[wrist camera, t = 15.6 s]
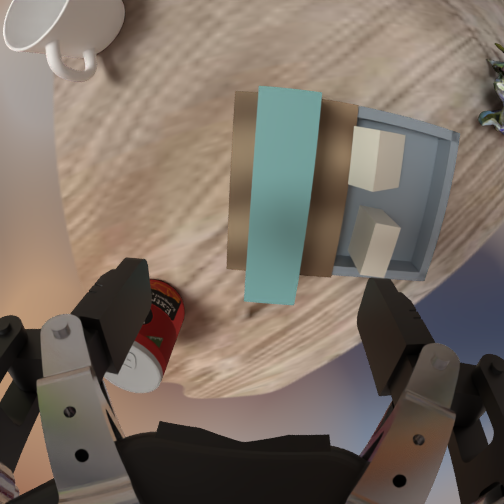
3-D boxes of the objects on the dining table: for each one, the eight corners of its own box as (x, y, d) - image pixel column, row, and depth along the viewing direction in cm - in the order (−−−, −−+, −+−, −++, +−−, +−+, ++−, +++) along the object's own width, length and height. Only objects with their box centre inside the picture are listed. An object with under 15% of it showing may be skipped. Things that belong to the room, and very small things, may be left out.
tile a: (354, 125, 22) (380, 130, 20) (382, 130, 24) (405, 135, 23) (347, 184, 24) (372, 191, 22) (376, 180, 27) (398, 187, 25)
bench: (239, 94, 24) (235, 91, 21) (348, 106, 24) (358, 105, 21) (231, 252, 31) (226, 268, 28) (325, 260, 31) (331, 277, 28)
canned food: (190, 286, 34) (162, 353, 24) (183, 335, 37) (160, 402, 27) (128, 269, 33) (85, 328, 23) (128, 320, 37) (95, 380, 27)
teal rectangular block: (261, 92, 21) (258, 85, 17) (311, 97, 21) (321, 92, 17) (248, 270, 28) (244, 301, 24) (290, 273, 28) (293, 305, 24)
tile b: (375, 222, 23) (400, 228, 23) (359, 204, 28) (382, 209, 28) (359, 274, 26) (383, 277, 26) (347, 250, 30) (369, 253, 30)
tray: (348, 106, 24) (356, 105, 21) (444, 130, 24) (460, 133, 21) (325, 260, 31) (330, 274, 29) (413, 267, 31) (424, 281, 28)
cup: (120, -20, 18) (70, -52, 9) (142, 66, 23) (85, 52, 14) (60, 17, 20) (2, 3, 11) (77, 100, 25) (12, 106, 15)
